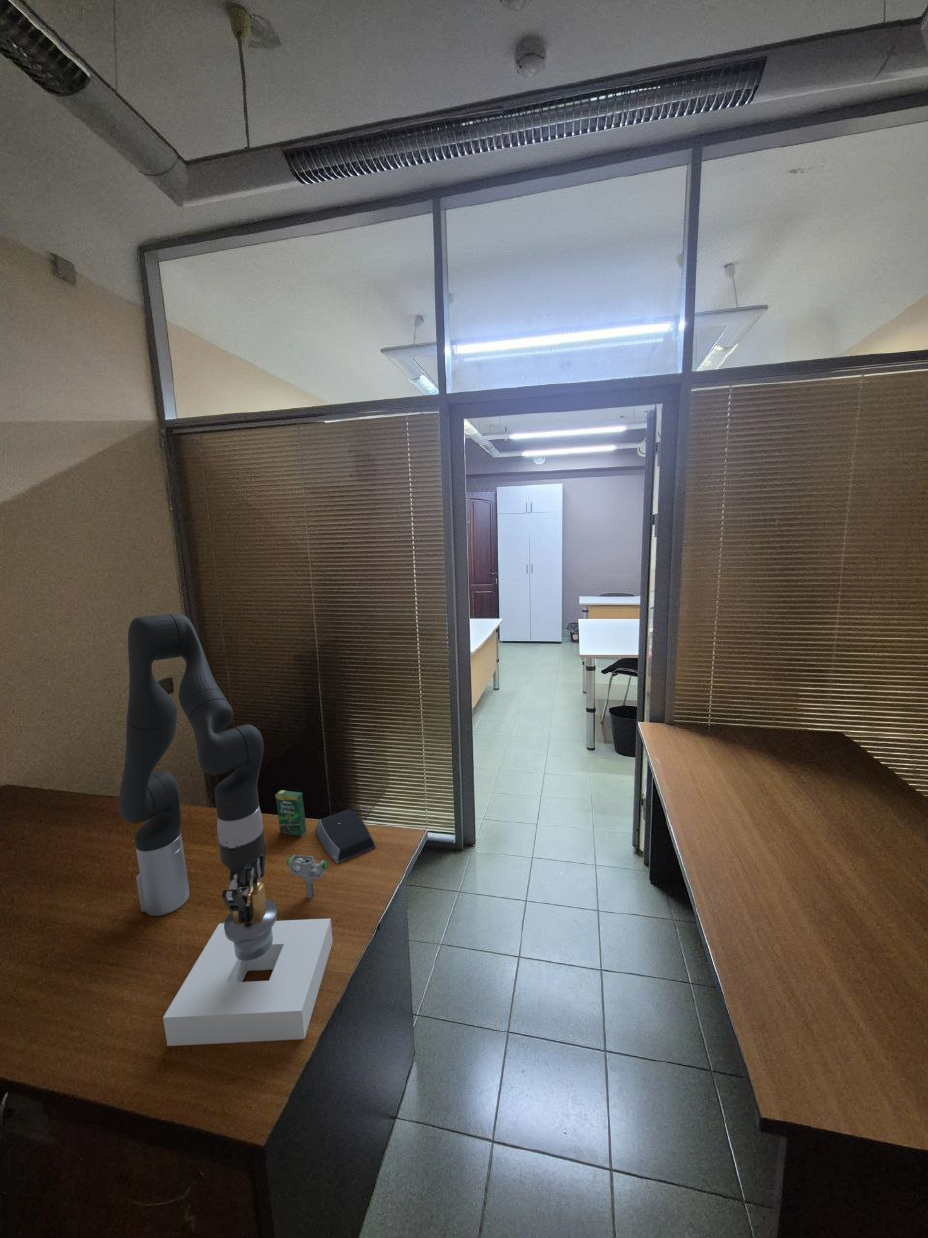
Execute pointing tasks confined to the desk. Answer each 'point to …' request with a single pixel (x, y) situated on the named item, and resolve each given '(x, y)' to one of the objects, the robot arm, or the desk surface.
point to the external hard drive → (344, 835)
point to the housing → (252, 988)
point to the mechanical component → (307, 870)
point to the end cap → (252, 926)
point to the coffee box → (291, 813)
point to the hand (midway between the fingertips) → (250, 913)
